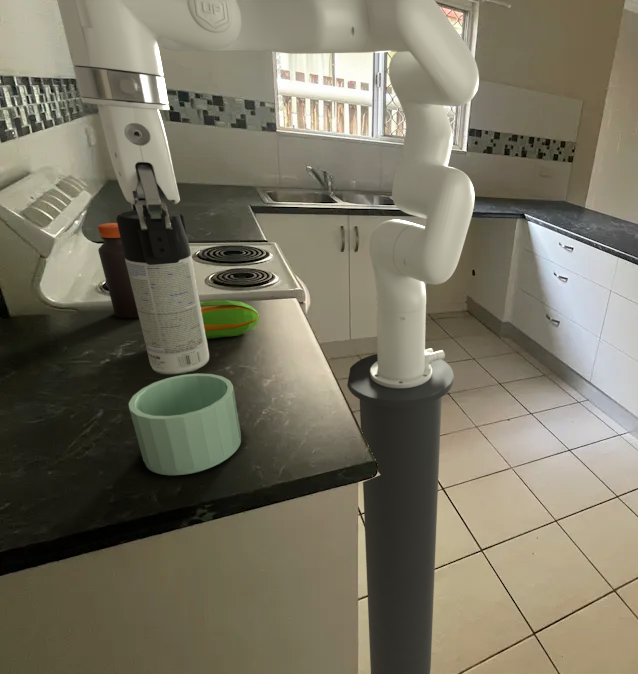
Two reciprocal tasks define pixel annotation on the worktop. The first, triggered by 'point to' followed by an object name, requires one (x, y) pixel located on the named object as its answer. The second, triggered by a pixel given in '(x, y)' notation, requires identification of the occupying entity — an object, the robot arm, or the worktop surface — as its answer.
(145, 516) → the worktop surface
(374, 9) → the robot arm
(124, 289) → the bottle
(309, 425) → the worktop surface
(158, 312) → the spray can
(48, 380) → the worktop surface
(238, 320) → the corn
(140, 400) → the cup
